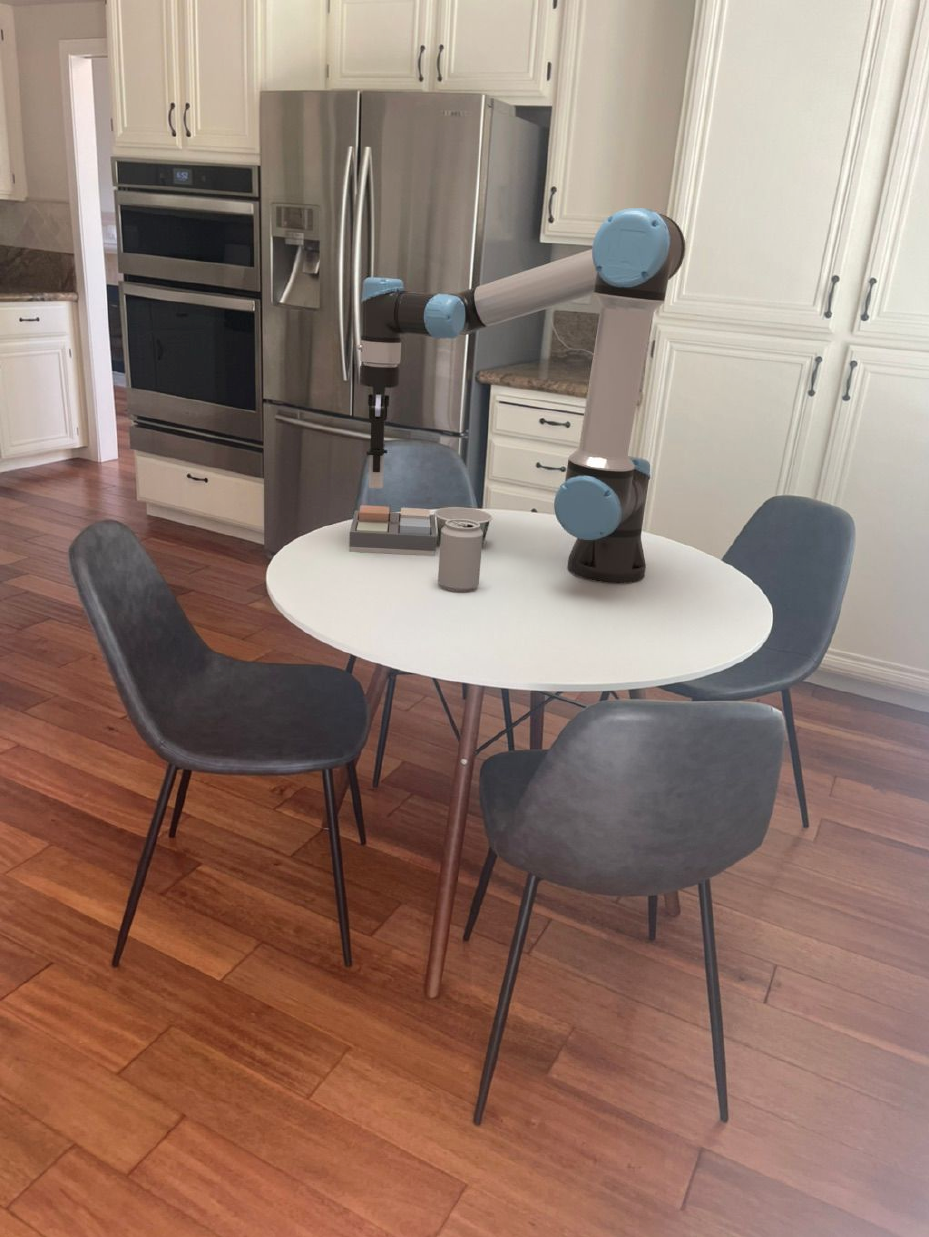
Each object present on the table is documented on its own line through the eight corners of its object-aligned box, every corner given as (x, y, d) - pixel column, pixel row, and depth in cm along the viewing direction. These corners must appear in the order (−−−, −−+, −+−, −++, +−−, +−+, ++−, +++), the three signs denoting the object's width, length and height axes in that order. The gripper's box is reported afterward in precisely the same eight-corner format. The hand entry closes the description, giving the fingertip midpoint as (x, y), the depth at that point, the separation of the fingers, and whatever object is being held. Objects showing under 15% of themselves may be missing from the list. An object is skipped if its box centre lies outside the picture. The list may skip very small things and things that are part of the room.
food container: (422, 545, 193) (424, 514, 191) (447, 533, 203) (450, 503, 201) (475, 557, 188) (477, 525, 186) (498, 543, 199) (501, 513, 196)
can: (474, 595, 166) (479, 530, 162) (433, 589, 168) (437, 524, 163) (482, 582, 173) (487, 519, 169) (442, 577, 175) (446, 514, 170)
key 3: (429, 531, 193) (429, 519, 192) (429, 539, 187) (430, 527, 186) (399, 529, 192) (400, 517, 191) (399, 537, 187) (400, 525, 186)
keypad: (433, 532, 203) (434, 514, 201) (435, 556, 187) (436, 536, 186) (354, 528, 202) (354, 510, 200) (349, 551, 186) (349, 531, 184)
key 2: (388, 518, 200) (389, 506, 199) (387, 525, 194) (388, 514, 193) (360, 516, 199) (360, 505, 199) (358, 524, 194) (359, 512, 193)
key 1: (387, 535, 192) (387, 523, 192) (386, 543, 187) (387, 531, 186) (357, 533, 192) (358, 522, 191) (356, 542, 186) (356, 529, 186)
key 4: (428, 520, 200) (429, 509, 200) (429, 528, 195) (429, 516, 194) (400, 519, 200) (401, 507, 199) (400, 526, 194) (400, 514, 194)
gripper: (361, 359, 183) (358, 479, 192) (358, 366, 171) (355, 493, 180) (400, 362, 184) (395, 481, 192) (399, 369, 172) (394, 495, 180)
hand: (375, 487), depth 186 cm, fingers closed
